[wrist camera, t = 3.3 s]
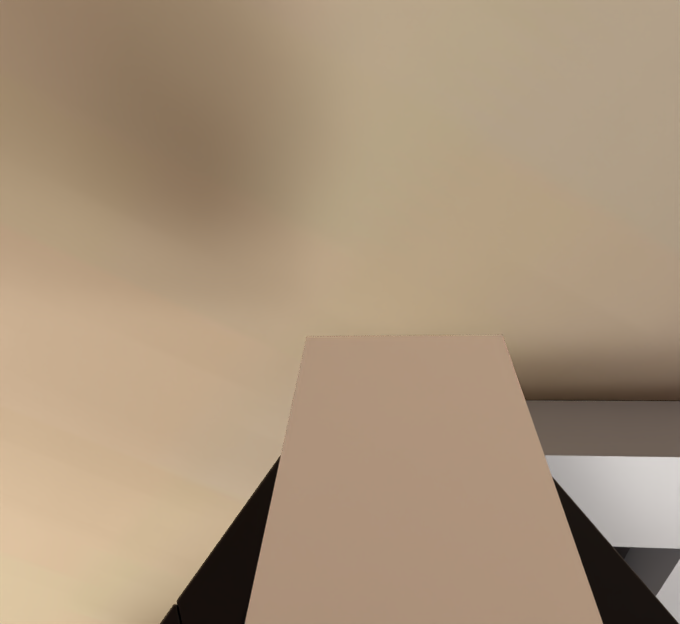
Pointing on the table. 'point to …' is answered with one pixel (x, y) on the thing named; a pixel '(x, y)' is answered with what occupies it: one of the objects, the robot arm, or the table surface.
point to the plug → (415, 493)
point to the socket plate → (622, 479)
